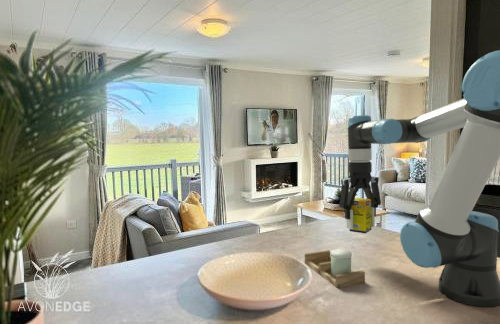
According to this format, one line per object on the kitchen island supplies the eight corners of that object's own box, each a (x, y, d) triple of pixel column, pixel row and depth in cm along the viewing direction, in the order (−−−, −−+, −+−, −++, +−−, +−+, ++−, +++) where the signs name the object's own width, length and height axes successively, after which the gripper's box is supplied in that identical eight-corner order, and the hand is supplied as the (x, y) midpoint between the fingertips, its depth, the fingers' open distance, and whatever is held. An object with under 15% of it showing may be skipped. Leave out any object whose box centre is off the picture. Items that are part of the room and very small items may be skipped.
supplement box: (366, 233, 111) (366, 201, 111) (349, 231, 115) (348, 200, 114) (372, 229, 116) (371, 198, 115) (355, 227, 120) (354, 197, 119)
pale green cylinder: (355, 280, 101) (355, 254, 101) (338, 283, 99) (337, 257, 99) (343, 272, 107) (343, 248, 107) (326, 275, 105) (326, 250, 105)
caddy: (364, 284, 100) (364, 271, 100) (337, 289, 97) (337, 276, 97) (328, 261, 119) (328, 250, 119) (304, 264, 116) (304, 253, 116)
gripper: (377, 159, 121) (378, 221, 122) (327, 162, 114) (328, 227, 116) (392, 160, 114) (392, 226, 115) (339, 163, 107) (340, 233, 109)
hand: (360, 226), depth 115 cm, fingers closed on supplement box, 8 cm apart
